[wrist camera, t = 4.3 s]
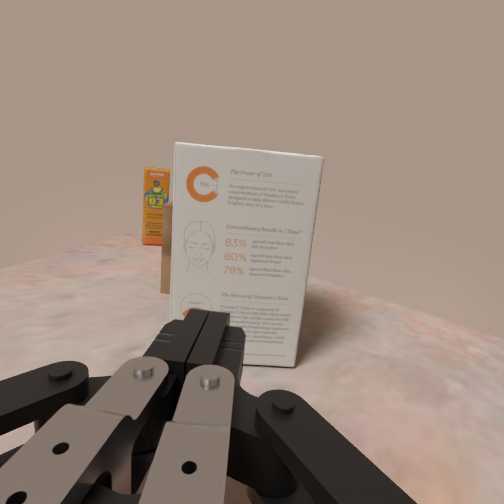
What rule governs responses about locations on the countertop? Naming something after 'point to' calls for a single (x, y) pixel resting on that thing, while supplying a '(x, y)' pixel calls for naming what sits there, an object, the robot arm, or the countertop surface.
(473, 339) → the countertop surface
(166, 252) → the walnut digit block
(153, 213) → the supplement box
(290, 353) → the small box
